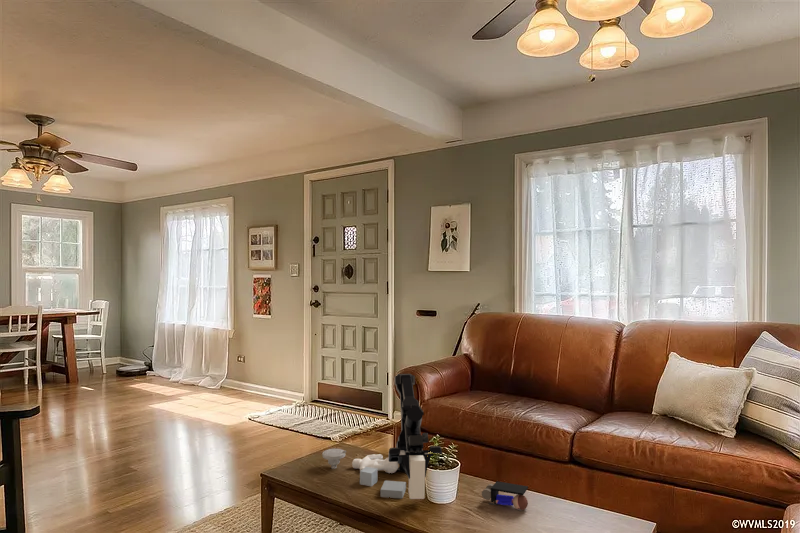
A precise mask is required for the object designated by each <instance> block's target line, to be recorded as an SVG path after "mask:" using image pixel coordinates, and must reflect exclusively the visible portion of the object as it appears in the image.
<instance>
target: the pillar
mask: <svg viewBox="0 0 800 533" xmlns="http://www.w3.org/2000/svg"><path fill="white" fill-rule="evenodd" d="M409 471H410V479H409V478H408V497H409V500H422V499H423V500H424V499H425V494H426V493H425V490H426V489H425V488H426V485H425V484H426V477H425V459H424V456H423V455H409Z"/></svg>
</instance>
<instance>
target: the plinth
mask: <svg viewBox="0 0 800 533" xmlns="http://www.w3.org/2000/svg"><path fill="white" fill-rule="evenodd" d="M406 489H407V482H406V481H395V480H384V481H383V484H382V486H381V487H380V497H381V498H389V497H390V498H392V499H403V498H404V495H405V493H406ZM390 498H389V499H390Z"/></svg>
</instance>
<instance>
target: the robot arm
mask: <svg viewBox="0 0 800 533" xmlns="http://www.w3.org/2000/svg"><path fill="white" fill-rule="evenodd" d="M415 376H416V375H413V374H411V373H397V374H396V375H394V380H393V382H394V383H393V384H394V386H395V390H396V391H397V393H398V395H399V404H400V406H399V407H400V424H401V426H400V427H401V429H400V430H401V431H400V433H399V435H398V437H397V441H396V446H395V447H390V448H389V449H388V457H387V458H389V462H397V461H398V469H397V470H396V471H398V472H401V473H402V472H403V473H405V474H406V477H407V478H408V480H409V479H410V471H409V455H423V456H424V459H425V478H427V472H428V467H429V464H430V462H429V460H430V457H431V456H433V454H428V452H430V451H431V452H433V453H440V454H443V450H442V447H441V446H440V445H431V446H429V449H425V450H424V443H425V444H426V443H429V433H428V432H423V433H421V425H422V421H423V416H424V415H425V411H424V409H422V407H421V406H420V404H419V401H418V399H416V398H415V392H414V391H415V390H414V385H415V384H416V382H415V381H416V377H415ZM427 455H428V457H427ZM428 463H429V464H428Z"/></svg>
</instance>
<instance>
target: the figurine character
mask: <svg viewBox="0 0 800 533" xmlns="http://www.w3.org/2000/svg"><path fill="white" fill-rule="evenodd" d="M528 489H529V486H528V485H522V484H515V483H509V482H502V481H499V480H497V481H495V483H494V484H492V483H490V484H487V486H486V487H485V488H484V489H483V490H482V491H481V496H482V498H483V499H484V500H486V501H489V500H490V502H488V505H494V506H497V505H501V506H510V507H514V508H515V509H516V510H518V511H524V510H526V509H527V507H528V506H529V505H528V504H529V501H528V498H527V496H525V493H526V492H527V491H528ZM500 492H503V493H507V494H513V495H514V496H513V495H506V494H499V493H500Z"/></svg>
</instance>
